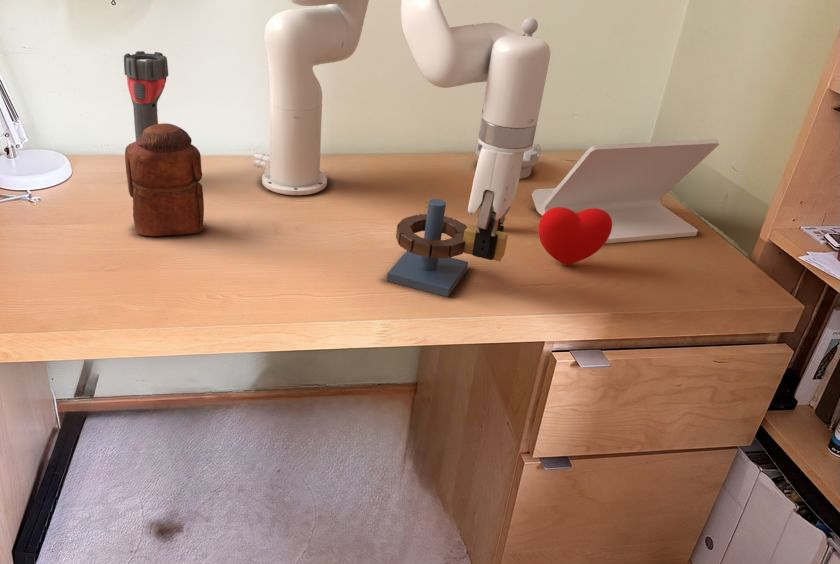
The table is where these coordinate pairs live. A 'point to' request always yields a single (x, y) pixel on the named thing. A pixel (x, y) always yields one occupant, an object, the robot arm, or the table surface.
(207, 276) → the table surface
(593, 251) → the heart
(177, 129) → the wooden figurine
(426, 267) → the peg rack
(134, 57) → the flashlight
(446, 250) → the walnut ring
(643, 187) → the tablet stand
